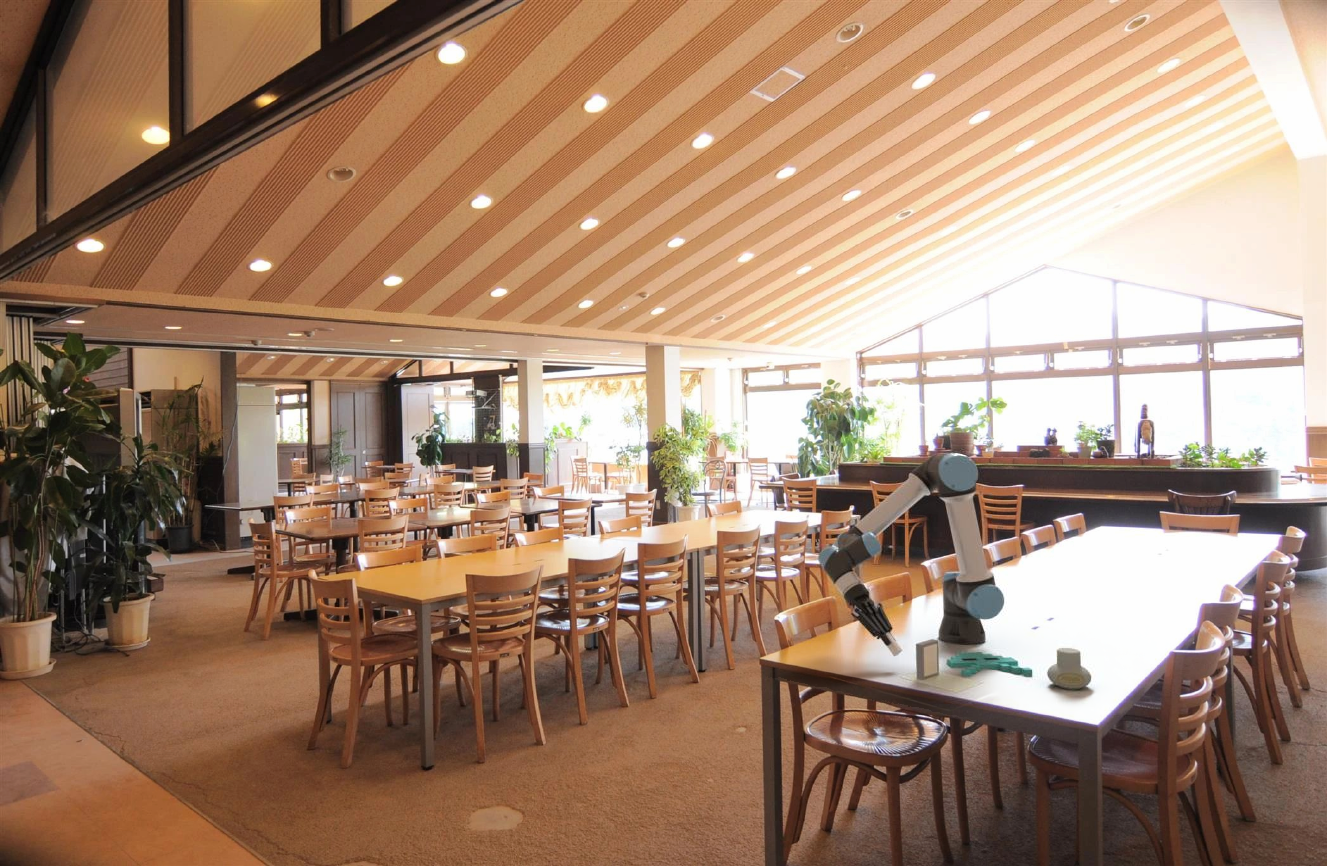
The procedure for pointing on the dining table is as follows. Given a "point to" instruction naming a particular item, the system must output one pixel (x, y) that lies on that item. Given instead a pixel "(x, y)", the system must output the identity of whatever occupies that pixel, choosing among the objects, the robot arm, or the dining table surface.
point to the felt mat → (945, 681)
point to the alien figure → (986, 663)
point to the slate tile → (927, 659)
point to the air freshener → (1069, 670)
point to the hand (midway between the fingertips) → (898, 653)
